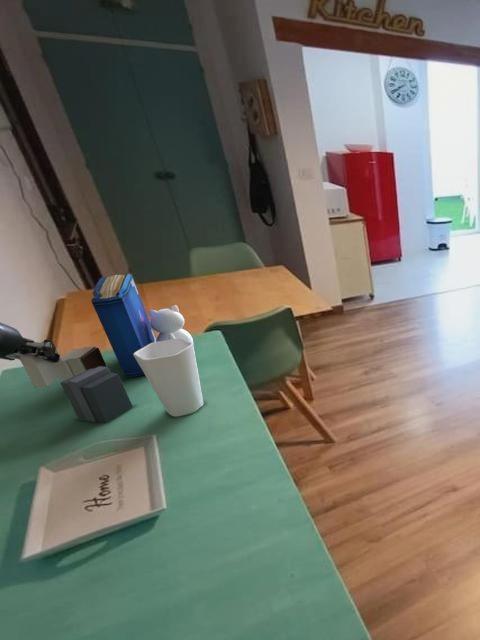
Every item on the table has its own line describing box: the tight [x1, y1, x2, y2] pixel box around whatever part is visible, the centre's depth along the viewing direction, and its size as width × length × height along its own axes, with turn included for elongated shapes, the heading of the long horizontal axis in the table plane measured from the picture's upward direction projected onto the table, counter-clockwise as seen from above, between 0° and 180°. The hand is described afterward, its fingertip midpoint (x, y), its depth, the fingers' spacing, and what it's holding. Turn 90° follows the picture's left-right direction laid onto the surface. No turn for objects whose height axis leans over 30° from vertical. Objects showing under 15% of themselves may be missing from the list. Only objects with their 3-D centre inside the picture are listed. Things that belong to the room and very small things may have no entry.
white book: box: [18, 349, 68, 388], centre depth 101 cm, size 2×7×9 cm, turn 14°
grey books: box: [60, 366, 134, 424], centre depth 101 cm, size 8×7×11 cm
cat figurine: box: [148, 304, 194, 344], centre depth 128 cm, size 9×12×15 cm
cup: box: [133, 338, 204, 417], centre depth 102 cm, size 11×10×17 cm
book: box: [90, 272, 157, 378], centre depth 120 cm, size 22×7×25 cm, turn 34°
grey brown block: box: [60, 346, 108, 381], centre depth 113 cm, size 6×7×9 cm
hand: (49, 359), depth 103 cm, fingers closed on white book, 2 cm apart
